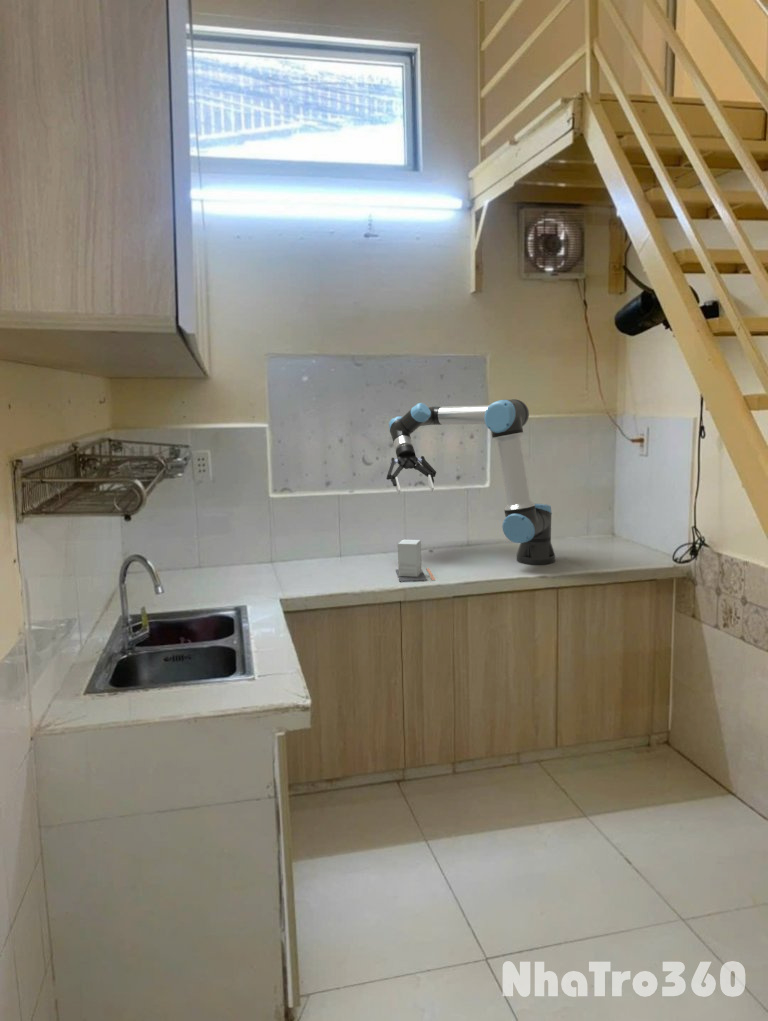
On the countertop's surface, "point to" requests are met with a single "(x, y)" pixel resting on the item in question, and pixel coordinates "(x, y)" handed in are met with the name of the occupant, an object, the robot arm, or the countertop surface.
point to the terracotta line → (430, 574)
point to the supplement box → (409, 558)
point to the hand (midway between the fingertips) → (415, 491)
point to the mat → (406, 578)
